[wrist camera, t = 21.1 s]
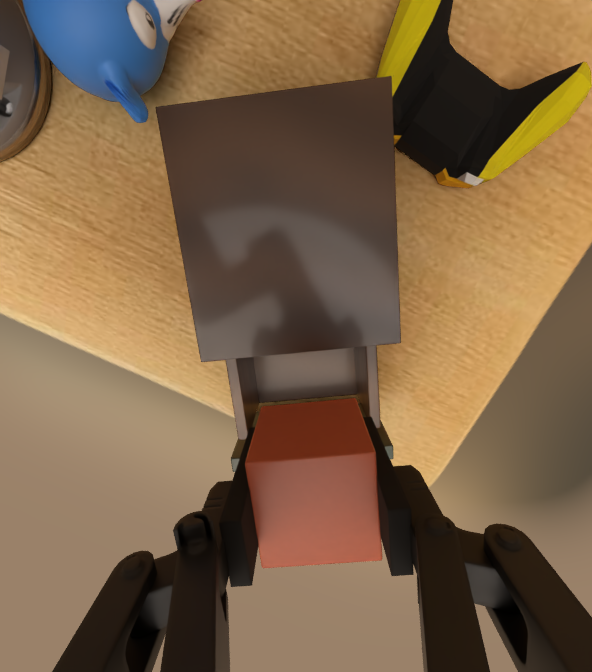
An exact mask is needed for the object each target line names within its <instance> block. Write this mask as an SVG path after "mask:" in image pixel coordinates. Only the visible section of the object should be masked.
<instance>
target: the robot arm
mask: <svg viewBox="0 0 592 672" xmlns="http://www.w3.org/2000/svg"><path fill="white" fill-rule="evenodd" d="M50 94H51V70H50V62H49V57H48V56H47V55H46V53H45V52H44V50H43V49H42V47H41V46H40V44H39V42H38V40H37V39H36V37H35V35H34V33H33V31H32V29H31V26H30V24H29V21H28V19H27V16H26V13H25V9H24V6H23V1H22V0H0V161H3V160H6V159H8V158H10V157H12V156H14V155H16V154H17V153H19V152H20V151H21V150H23V149H24V148H25V147H26V146H27V145H28V144H29V143H30V142H31V141H32V139H33V138H34V137H35V136H36V134H37V132H38V131H39V129H40V127H41V125H42V123H43V121H44V119H45V116H46V113H47V109H48V105H49V100H50ZM363 419H364V422H365V425H366V427H367V430H368V433H369V436H370V438H371V441H372V444H373V447H374V449H375V452H376V465H377V488H378V504H379V519H380V535H381V539H382V542H383V546H384V550H385V554H386V557H387V560H388V564H389V568H390V572H391V575H392V576H399V575H413V564H414V567H415V570H416V573H417V587H418V604H419V612H420V626H421V638H422V653H423V665H424V672H490V670H489V665H488V661H487V657H486V652H485V648H484V644H483V639H482V635H481V630H480V626H479V622H478V618H477V614H476V609H475V605H474V603H475V604H479V605H483V606H485V607H486V609H487V611H488V613H489V615H490V617H491V619H492V621H493V623H494V625H495V627H496V629H497V631H498V633H499V635H500V637H501V639H502V641H503V643H504V645H505V647H506V648H507V650H508V652H509V655H510V657H511V658H512V660H513V662H514V664H515V666H516V668H517V670H518V672H592V617H591V616H590V615H589V613H588V612H587V611H586V609H585V608H584V607H583V606H582V604H581V603H580V602H579V601H578V599H577V598H576V597H575V596H574V594H573V593H572V592H571V591H570V589H569V588H568V587H567V585H566V584H565V583H564V582H563V580H562V579H561V578H560V577H559V575H558V574H557V573H556V571H555V570H554V569H553V568H552V567H551V565H550V564H549V563H548V561H547V560H546V559H545V557H543V555H542V554H541V552H540V551H539V550H538V549H537V547H536V546H535V545H534V544H533V542H532V541H531V540H530V539H529V538H528V537H527V536H526V535H525V534H524V533H523V532H522V531H519V530H518V529H516V528H515V527H512V526H509V525H505V524H493V525H489V526H488V527H487V528H486V529H485V533H484V534H480V533H474V532H469V531H465V530H462V529H460V528H457V527H456V526H455V525H454V523H453V522H452V521H451V520H450V519H449V518H447V517H445V516H443V514H442V512H441V510H440V509H439V507H438V505H437V503H436V501H435V499H434V497H433V496H432V494H431V492H430V490H429V489H428V486H427V485H426V483H425V482H424V479H423V477H422V475H421V473H420V472H419V471H418V470H416V469H415V468H414V467H413V466H411V465H406V466H394V467H393V465H392V463H391V461H390V458H389V456H388V454H387V451H386V449H385V447H384V444H383V442H382V440H381V437H380V435H379V433H378V430H377V428H376V426H375V423H374V421H373V419H372V417H363ZM254 431H255V427H251V428H249V431H248V434H247V437H246V440H245V443H244V447H243V450H242V453H241V456H240V459H239V462H238V465H237V468H236V471H235V474H234V478H233V481H224V482H217V483H216V484H215V485H214V487H213V488H212V489H211V490H210V492H209V494H208V497H207V500H206V502H205V504H204V508H203V509H202V511H198V512H193V513H190V514H188V515H186V516H184V517H183V518H181V519H180V520H179V521H178V523H177V524H176V525H175V527H174V530H173V532H174V536H175V540H176V545H177V549H178V550H177V551H175V552H173V553H171V554H169V555H166V556H163V557H160V558H157V559H154V558H153V554H151V553H150V552H149V551H139V552H135V553H133V554H131V555H129V556H127V557H126V558H124V559H123V560H122V561H120V562H119V563H118V565H117V566H116V567H115V568H114V570H113V571H112V573H111V575H110V576H109V578H108V580H107V581H106V583H105V585H104V586H103V588H102V590H101V591H100V593H99V595H98V596H97V598H96V600H95V601H94V603H93V605H92V606H91V608H90V610H89V611H88V613H87V615H86V616H85V618H84V620H83V621H82V623H81V625H80V626H79V628H78V630H77V631H76V633H75V635H74V636H73V638H72V640H71V641H70V643H69V645H68V646H67V648H66V650H65V651H64V653H63V655H62V656H61V658H60V660H59V661H58V663H57V665H56V666H55V668H54V670H53V671H52V672H152V670H153V667H154V664H155V661H156V659H157V656H158V653H159V650H160V647H161V645H162V642H163V639H164V636H165V634H166V637H165V643H164V650H163V657H162V664H161V671H160V672H230V657H229V656H230V655H229V624H228V623H229V622H228V597H227V592H226V585H227V581H228V577H229V578H230V583H231V587H235V586H250V585H252V581H253V575H254V569H255V562H256V556H257V550H258V539H257V533H256V526H255V520H254V514H253V508H252V502H251V496H250V490H249V486H248V480H247V474H246V468H245V461H246V458H247V454H248V451H249V448H250V444H251V441H252V437H253V434H254Z"/></svg>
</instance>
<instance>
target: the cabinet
mask: <svg viewBox="0 0 592 672" xmlns="http://www.w3.org/2000/svg"><path fill="white" fill-rule="evenodd" d="M156 113H157V118H158V124H159V129H160V135H161V141H162V146H163V152H164V157H165V163H166V169H167V174H168V180H169V185H170V191H171V196H172V202H173V208H174V213H175V219H176V224H177V230H178V235H179V241H180V247H181V252H182V258H183V263H184V269H185V274H186V280H187V286H188V291H189V297H190V302H191V308H192V313H193V319H194V325H195V330H196V336H197V341H198V347H199V353H200V358H201V362H208V361H218V360H229V359H239V358H250V357H260V356H271V355H281V354H292V353H302V352H313V351H323V350H334V349H344V348H354V347H365V346H375V345H386V344H396V343H401V332H400V303H399V274H398V245H397V216H396V187H395V158H394V129H393V100H392V76H386V77H378V78H371V79H363V80H356V81H348V82H341V83H333V84H326V85H318V86H311V87H303V88H295V89H288V90H280V91H273V92H265V93H258V94H250V95H243V96H235V97H228V98H220V99H213V100H205V101H197V102H190V103H182V104H175V105H167V106H160V107H156Z"/></svg>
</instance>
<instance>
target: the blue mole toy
mask: <svg viewBox="0 0 592 672" xmlns="http://www.w3.org/2000/svg"><path fill="white" fill-rule="evenodd" d="M22 1H23V6H24V9H25V13H26V16H27V19H28V21H29V24H30V26H31V29H32V31H33V33H34V35H35V37H36V39H37V40H38V42H39V44H40V46H41V47H42V49H43V50H44V52H45V53H46V55H47V56H48V57H49V59H50V60H51V61H52V63H53V64H54V65H55V66H56V67H57V68H58V70H59V71H60V72H61V73H62V74H63V75H64V76H65V77H67V78H68V79H69V80H70V81H71V82H72V83H74V84H75V85H76V86H78V87H79V88H81V89H83V90H84V91H86V92H88V93H90V94H93V95H95V96H98V97H101V98H103V99H105V100H109V101H113V102H120V103H121V105H122V106H123V107H124V108H125V110H126V111H127V112H128V113H129V115H130V116H131V117H132V118H133V120H134V121H135V122H137V123H143V122H146V121H147V119H148V109H147V107H146V105H145V103H144V102H143V100H142V98H141V97H140V96H141V95H142V94H144V93H146V92H147V91H148V90H150V89H151V88H152V87H153V86H154V85H155V83H156V82H157V81H158V79H159V77H160V75H161V73H162V70H163V67H164V64H165V60H166V56H167V51H168V46H169V42H170V39H171V38H172V37H173V35H174V33H175V31H176V29H177V27H178V25H179V24H180V23H181V21H182V19H183V18H184V16H185V15H186V13H187V11H188V10H189V8H190V7H191V6H192V5H193V4H194V3H196V2H200V1H202V0H22Z"/></svg>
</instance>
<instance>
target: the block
mask: <svg viewBox="0 0 592 672" xmlns="http://www.w3.org/2000/svg"><path fill="white" fill-rule="evenodd" d="M245 468H246V474H247V480H248V486H249V490H250V496H251V502H252V508H253V514H254V520H255V526H256V533H257V539H258V547H259V553H260V559H261V565H262V568H274V567H289V566H304V565H320V564H335V563H349V562H364V561H378V560H379V561H380V560H382V545H381V535H380V519H379V504H378V488H377V465H376V452H375V449H374V447H373V444H372V441H371V438H370V436H369V433H368V430H367V427H366V425H365V422H364V419H363V417H362V414H361V411H360V408H359V406H358V403H357V400H356V398H350V399H339V400H328V401H317V402H306V403H295V404H285V405H274V406H263V407H261V410H260V414H259V417H258V420H257V424H256V427H255V431H254V434H253V437H252V441H251V444H250V448H249V451H248V454H247V458H246V461H245Z"/></svg>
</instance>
